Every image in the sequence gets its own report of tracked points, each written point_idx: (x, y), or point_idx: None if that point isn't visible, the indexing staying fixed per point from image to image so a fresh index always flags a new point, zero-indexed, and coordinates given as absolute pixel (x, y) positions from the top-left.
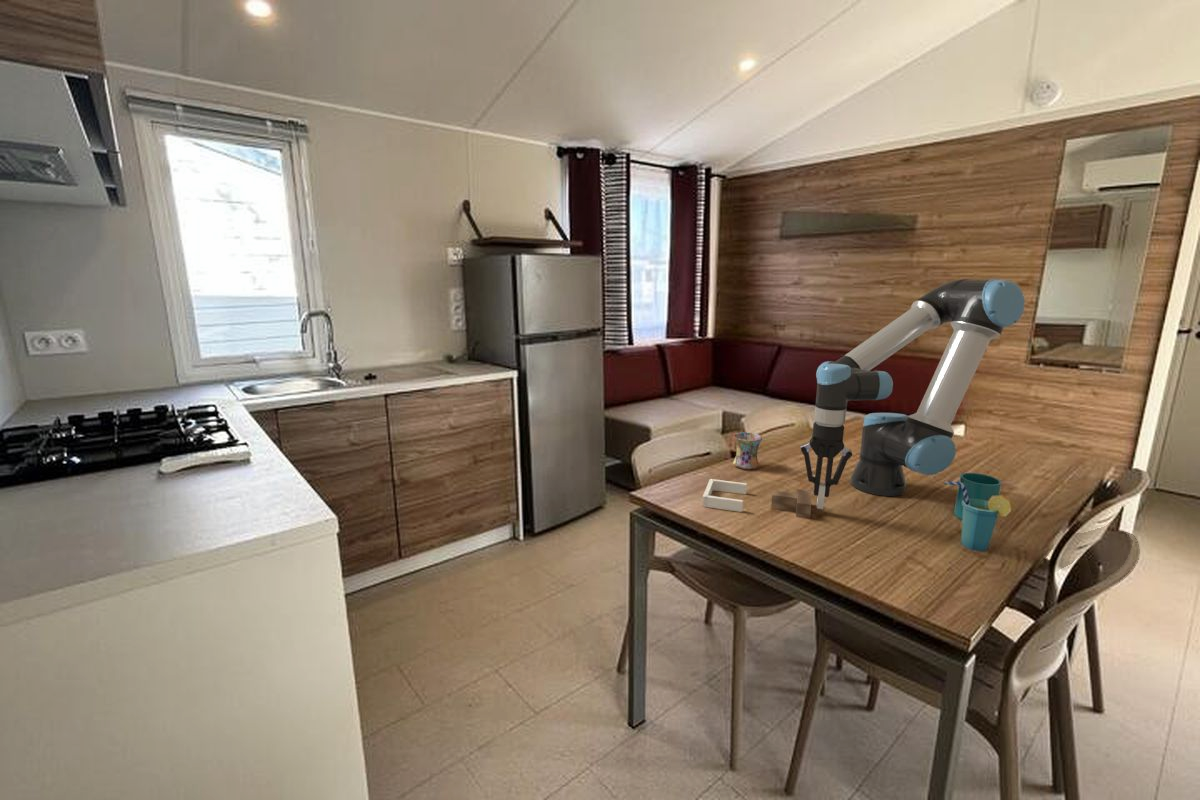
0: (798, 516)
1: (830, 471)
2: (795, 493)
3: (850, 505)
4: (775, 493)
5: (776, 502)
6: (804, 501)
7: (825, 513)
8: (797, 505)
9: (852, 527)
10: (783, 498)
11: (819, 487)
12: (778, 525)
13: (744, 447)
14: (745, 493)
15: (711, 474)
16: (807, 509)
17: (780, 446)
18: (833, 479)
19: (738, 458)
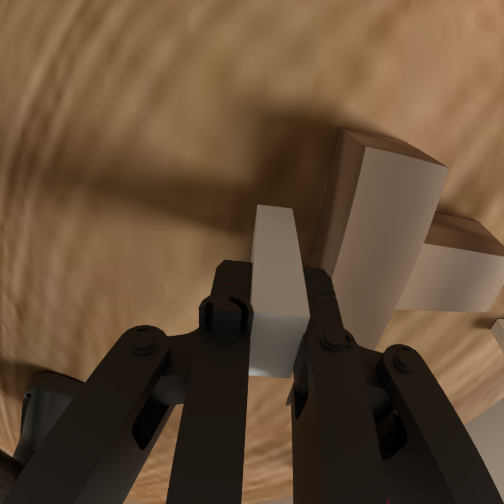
0: (397, 140)
1: (189, 482)
2: (403, 307)
3: (126, 316)
4: (495, 281)
5: (482, 236)
6: (397, 200)
7: (237, 215)
8: (437, 162)
9: (118, 76)
10: (474, 246)
11: (307, 304)
12: (491, 44)
13: None
14: (499, 321)
15: (495, 394)
16: (374, 141)
17: (283, 497)
18: (164, 390)
19: None
